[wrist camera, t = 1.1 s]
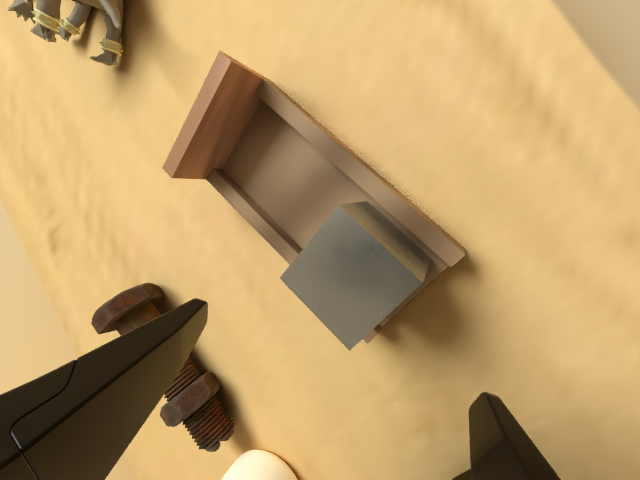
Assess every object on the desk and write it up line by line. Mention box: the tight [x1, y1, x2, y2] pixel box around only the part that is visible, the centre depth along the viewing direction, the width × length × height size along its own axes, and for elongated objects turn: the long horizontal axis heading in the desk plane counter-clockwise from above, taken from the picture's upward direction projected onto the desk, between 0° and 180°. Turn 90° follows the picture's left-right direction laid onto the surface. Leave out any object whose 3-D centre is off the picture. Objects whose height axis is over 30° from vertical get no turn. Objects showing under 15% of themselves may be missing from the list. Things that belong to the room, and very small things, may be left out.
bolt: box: [91, 283, 234, 452], centre depth 27 cm, size 6×5×15 cm
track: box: [163, 51, 466, 344], centre depth 19 cm, size 17×8×5 cm, turn 50°
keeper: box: [280, 201, 431, 351], centre depth 17 cm, size 5×5×5 cm
